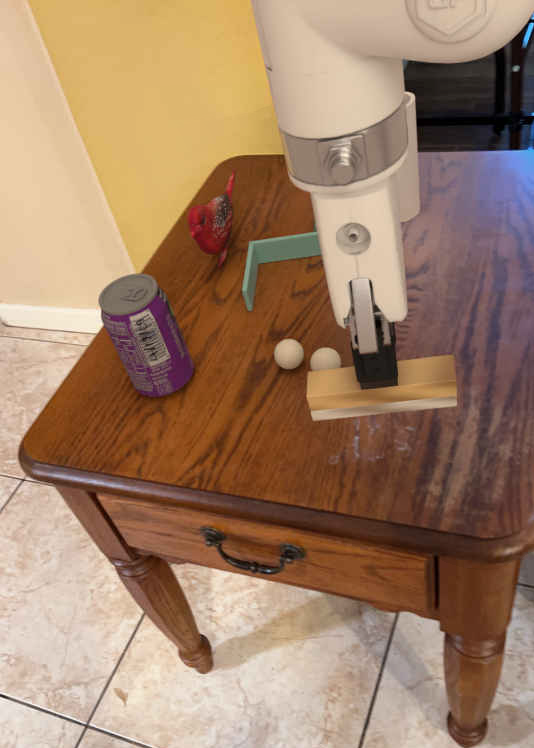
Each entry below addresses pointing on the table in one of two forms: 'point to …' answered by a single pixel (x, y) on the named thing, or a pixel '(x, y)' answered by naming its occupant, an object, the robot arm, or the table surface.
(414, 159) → the vase
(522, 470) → the table surface
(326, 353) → the crumb
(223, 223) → the decorative bird figurine
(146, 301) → the beverage can
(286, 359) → the crumb
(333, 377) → the brush
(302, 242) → the teal open frame
